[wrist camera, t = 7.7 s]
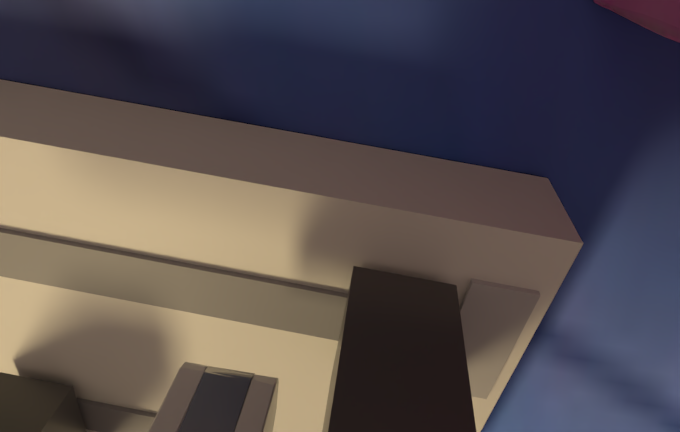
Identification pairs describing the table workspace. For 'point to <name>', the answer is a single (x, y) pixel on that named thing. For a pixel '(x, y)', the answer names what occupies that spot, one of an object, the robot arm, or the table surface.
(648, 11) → the gum box
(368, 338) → the block
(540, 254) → the breaker panel
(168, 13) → the table surface
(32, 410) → the block
